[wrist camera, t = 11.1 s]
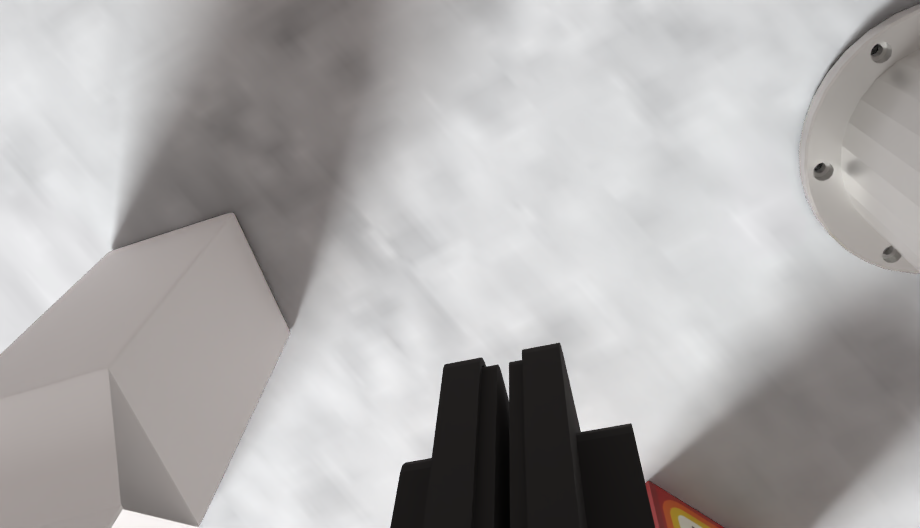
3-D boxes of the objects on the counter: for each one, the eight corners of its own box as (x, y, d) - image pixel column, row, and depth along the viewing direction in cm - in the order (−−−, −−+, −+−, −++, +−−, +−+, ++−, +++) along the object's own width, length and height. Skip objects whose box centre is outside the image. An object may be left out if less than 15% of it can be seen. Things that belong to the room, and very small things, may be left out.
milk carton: (108, 250, 44) (-152, 494, 27) (235, 209, 43) (49, 438, 25) (171, 367, 46) (-28, 659, 29) (293, 331, 45) (160, 614, 28)
